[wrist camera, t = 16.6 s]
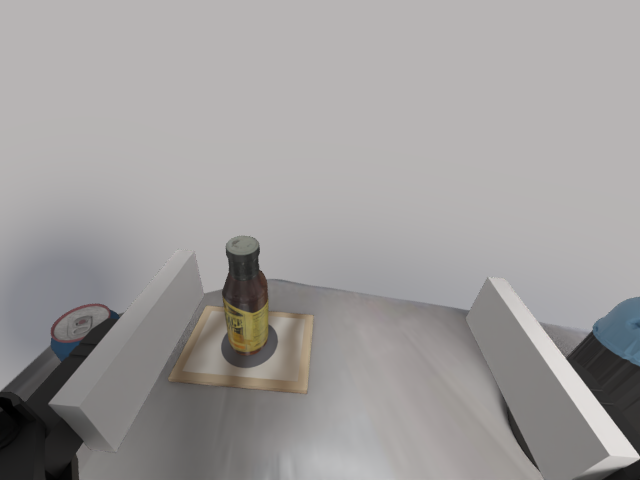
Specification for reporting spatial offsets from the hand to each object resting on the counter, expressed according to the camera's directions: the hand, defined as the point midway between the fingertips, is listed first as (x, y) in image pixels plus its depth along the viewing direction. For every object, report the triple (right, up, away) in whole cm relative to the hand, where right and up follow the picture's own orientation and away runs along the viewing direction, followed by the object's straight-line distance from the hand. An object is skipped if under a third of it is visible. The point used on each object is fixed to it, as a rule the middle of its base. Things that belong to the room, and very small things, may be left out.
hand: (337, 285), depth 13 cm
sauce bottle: (-12, -15, +33) cm, 38 cm away
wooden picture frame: (-12, -15, +33) cm, 39 cm away
